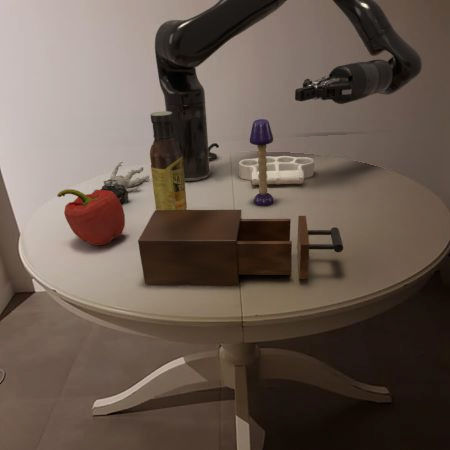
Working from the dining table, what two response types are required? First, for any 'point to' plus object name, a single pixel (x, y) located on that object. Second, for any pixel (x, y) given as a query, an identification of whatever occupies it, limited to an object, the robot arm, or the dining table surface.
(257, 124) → the toy lamp
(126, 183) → the grey branched piece
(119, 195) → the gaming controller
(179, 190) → the sauce bottle
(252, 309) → the dining table surface
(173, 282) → the cabinet
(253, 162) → the white brass knuckles
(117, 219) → the vegetable
